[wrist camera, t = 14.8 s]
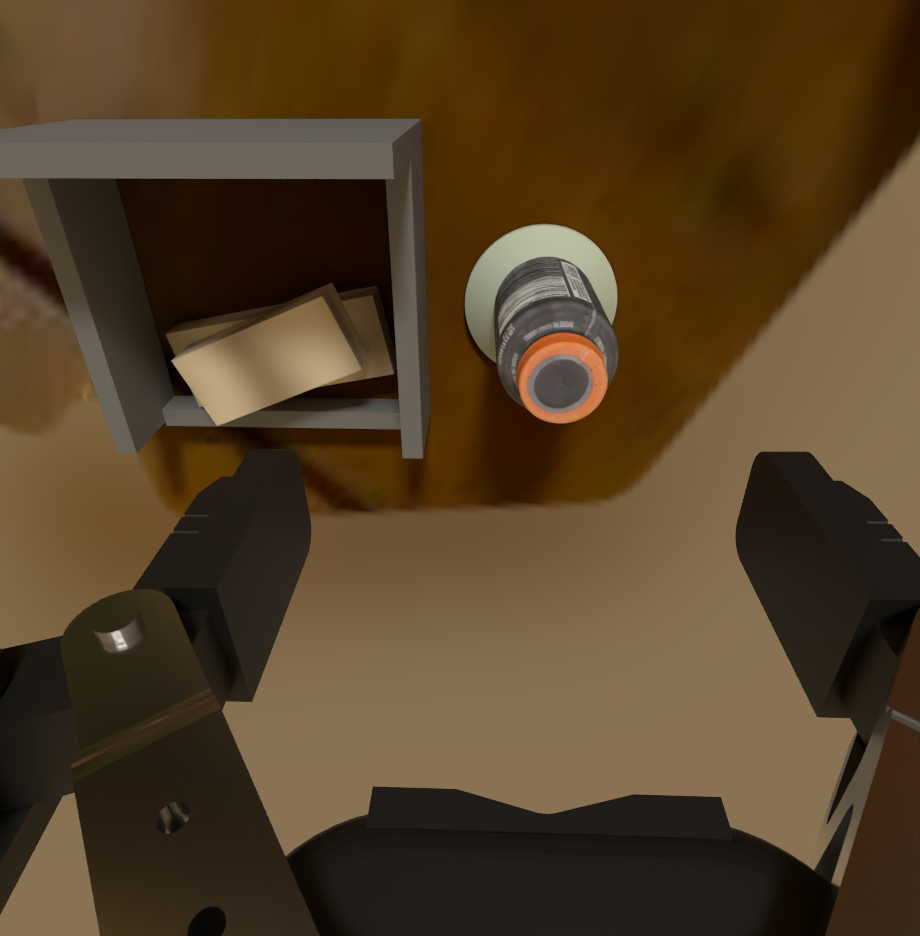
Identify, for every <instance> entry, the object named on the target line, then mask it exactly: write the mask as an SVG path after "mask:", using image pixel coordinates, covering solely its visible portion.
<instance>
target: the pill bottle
mask: <svg viewBox="0 0 920 936" xmlns="http://www.w3.org/2000/svg"><path fill="white" fill-rule="evenodd" d="M494 328H495V348H496V365H497V371H498V375H499V379H500V381H501V383H502V385H503V387H504V389H505V390H506V392H507V393H508V394H509V395H510V397H511V398H512V399H513V400H515V401H516V402H517V403H518V404H520V405H521V406H523V407H524V408H526V409H528V410H529V411H530V412H531V413H532V414H533V415H534V416H536V417H537V418H539V419H541V420H544V421H547V422H551V423H557V424H559V423H570V422H574V421H577V420H579V419H581V418H584V417H586V416H587V415H589V414H590V413H591V412H592V411H593V410H595V409H596V408H597V406H598V405H599V404H600V402H601V401H602V399H603V397H604V395H605V392H606V390H607V387H608V386H609V384H610V382H611V381H612V379H613V377H614V374H615V371H616V368H617V363H618V356H619V350H618V342H617V338H616V335H615V332H614V330H613V328H612V325H611V323H610V321H609V319H608V317H607V315H606V313H605V311H604V309H603V307H602V305H601V303H600V301H599V299H598V297H597V295H596V293H595V291H594V289H593V287H592V285H591V283H590V281H589V279H588V278H587V276H586V275H585V274H584V273H583V272H582V271H581V270H580V269H579V268H578V267H577V266H576V265H574V264H573V263H571V262H569V261H567V260H565V259H561V258H557V257H537V258H534V259H531V260H528V261H526V262H524V263H522V264H520V265H518V266H517V267H515V268H514V269H513V270H512V271H511V272H510V273H509V274H508V275H507V276H506V277H505V279H504V280H503V282H502V283H501V285H500V287H499V289H498V292H497V295H496V298H495V307H494Z"/></svg>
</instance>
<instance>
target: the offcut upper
mask: <svg viewBox="0 0 920 936" xmlns="http://www.w3.org/2000/svg"><path fill="white" fill-rule="evenodd" d="M368 354H369V352H368V350H367V348H366V346H365V345H364V343H363V341H362V339H361V337H360V335H359V333H358V331H357V329H356V327H355V325H354V324H353V322H352V320H351V318H350V316H349V314H348V312H347V310H346V308H345V306H344V304H343V303H342V301H341V299H340V297H339V295H338V293H337V291H336V289H335V287H334V285H333V284H332V283H329V284H327V285H325V286H323V287H320V288H318V289H316V290H313V291H311V292H309V293H306V294H304V295H302V296H299V297H297V298H295V299H293V300H290V301H288V302H286V303H283V304H281V305H279V306H276V307H274V308H272V309H270V310H267V311H265V312H263V313H260V314H258V315H256V316H253V317H251V318H249V319H246V320H244V321H242V322H240V323H237V324H235V325H233V326H230V327H228V328H226V329H223V330H221V331H219V332H216V333H214V334H212V335H210V336H207V337H205V338H203V339H200V340H198V341H196V342H193V343H191V344H189V345H188V346H187V347H185V348H184V349H183V350H182V351H181V352H180V353H179V354H178V355H177V356H176V357H175V358H174V359H173V360H172V363H173V364H174V366H175V367H176V368H177V370H178V371H179V373H180V374H181V376H182V377H183V378H184V380H185V381H186V383H187V384H188V385H189V387H190V388H191V390H192V391H193V393H194V394H195V395H196V397H197V398H198V400H199V401H200V403H201V404H202V405H203V407H204V408H205V410H206V411H207V412H208V414H209V415H210V417H211V418H212V420H213V421H214V422H215V424H216V425H217V426H219V425H221V424H224V423H227V422H229V421H232V420H234V419H237V418H239V417H242V416H244V415H247V414H250V413H252V412H255V411H257V410H260V409H262V408H265V407H267V406H270V405H273V404H275V403H278V402H280V401H283V400H285V399H288V398H290V397H293V396H296V395H298V394H301V393H303V392H306V391H308V390H311V389H314V388H316V387H319V386H321V385H324V384H326V383H329V382H331V381H334V380H337V379H339V378H342V377H344V376H347V375H349V374H352V373H354V372H357V371H360V370H362V368H363V366H364V363H365V361H366V358H367V356H368Z"/></svg>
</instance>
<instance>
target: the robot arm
mask: <svg viewBox="0 0 920 936" xmlns="http://www.w3.org/2000/svg"><path fill="white" fill-rule="evenodd" d="M887 521H888V520H887V519H886V517H885V516H884V515H883V514H882V513H881V512H880V510H879V509H878V508H877V507H876V506H875V505H874V504H873V502H872V501H871V500H870V499H869V498H867V497H866V496H864V495H863V494H861V493H860V492H858V491H856V490H855V489H853V488H852V487H850V486H849V485H847V484H846V483H844V482H842V481H833V480H832V478H831V477H830V476H829V475H828V473H827V472H826V471H825V470H824V469H823V467H822V466H821V465H820V463H819V462H818V461H817V460H816V459H815V457H814V456H813V455H812V454H811V453H809V452H760V453H759V454H758V455H757V456H756V458H755V460H754V462H753V465H752V469H751V472H750V476H749V480H748V483H747V488H746V491H745V495H744V499H743V503H742V506H741V510H740V514H739V517H738V521H737V526H736V547H737V553H738V556H739V559H740V561H741V563H742V565H743V567H744V569H745V571H746V573H747V575H748V577H749V579H750V581H751V584H752V585H753V588H754V589H755V592H756V594H757V596H758V598H759V600H760V602H761V604H762V606H763V608H764V610H765V612H766V614H767V616H768V618H769V620H770V622H771V624H772V626H773V628H774V630H775V632H776V634H777V636H778V638H779V640H780V642H781V644H782V647H783V649H784V651H785V652H786V655H787V656H788V659H789V661H790V662H791V665H792V667H793V669H794V671H795V673H796V675H797V677H798V679H799V681H800V683H801V685H802V687H803V689H804V691H805V693H806V695H807V697H808V699H809V701H810V703H811V705H812V707H813V709H814V712H815V714H816V716H817V717H828V718H831V717H832V718H851V720H852V722H853V724H854V726H855V728H856V730H857V731H856V733H855V735H854V737H853V739H852V741H851V743H850V745H849V748H848V751H847V754H846V757H845V759H844V762H843V765H842V768H841V771H840V774H839V777H838V779H837V782H836V785H835V788H834V791H833V794H832V797H831V799H830V802H829V805H828V808H827V811H826V814H825V817H824V820H823V822H822V825H821V828H820V831H819V834H818V837H817V839H816V842H815V844H814V847H813V849H812V852H811V854H810V856H809V859H808V861H807V863H806V864H804V863H803V862H801V861H800V860H798V859H797V858H795V857H794V856H792V855H791V854H789V853H787V852H786V851H784V850H782V849H780V848H778V847H776V846H775V845H773V844H771V843H769V842H767V841H765V840H763V839H760V838H758V837H756V836H753V835H751V834H748V833H745V832H743V831H741V830H738V829H734V828H731V827H730V825H729V822H728V819H727V816H726V812H725V809H724V806H723V803H722V799H721V797H699V796H664V795H630V796H625V797H621V798H617V799H613V800H609V801H605V802H600V803H596V804H592V805H588V806H584V807H579V808H575V809H571V810H567V811H563V812H558V813H554V814H541V813H536V812H532V811H529V810H525V809H522V808H519V807H515V806H512V805H508V804H505V803H502V802H498V801H495V800H492V799H488V798H485V797H481V796H478V795H475V794H471V793H468V792H464V791H461V790H458V789H433V788H400V787H373V789H372V795H371V801H370V807H369V813H368V815H364V816H360V817H356V818H353V819H351V820H348V821H345V822H343V823H340V824H337V825H335V826H333V827H331V828H329V829H327V830H325V831H323V832H321V833H319V834H317V835H315V836H313V837H312V838H311V839H309V840H308V841H306V842H304V843H303V844H301V845H300V846H298V847H297V848H295V849H294V850H293V851H292V852H290V853H289V854H288V855H287V856H286V857H285V854H284V852H283V850H282V848H281V845H280V843H279V841H278V838H277V836H276V834H275V831H274V829H273V827H272V824H271V822H270V820H269V817H268V815H267V813H266V810H265V808H264V806H263V804H262V801H261V799H260V797H259V794H258V792H257V790H256V788H255V785H254V783H253V781H252V778H251V776H250V774H249V771H248V769H247V767H246V765H245V762H244V760H243V758H242V755H241V753H240V751H239V748H238V746H237V744H236V741H235V739H234V737H233V734H232V732H231V730H230V728H229V725H228V723H227V721H226V719H225V716H224V714H223V712H222V709H223V707H224V705H225V702H226V701H241V702H243V701H244V702H252V700H253V698H254V695H255V692H256V690H257V687H258V684H259V682H260V679H261V677H262V674H263V671H264V668H265V666H266V663H267V661H268V658H269V655H270V653H271V650H272V648H273V645H274V642H275V639H276V637H277V634H278V632H279V629H280V626H281V624H282V621H283V618H284V616H285V613H286V610H287V608H288V605H289V602H290V600H291V597H292V595H293V592H294V589H295V587H296V584H297V581H298V579H299V576H300V574H301V571H302V568H303V566H304V563H305V560H306V558H307V555H308V552H309V548H310V542H311V520H310V514H309V509H308V504H307V499H306V493H305V488H304V483H303V478H302V473H301V467H300V462H299V458H298V455H297V453H296V452H295V451H294V450H290V449H252V450H250V451H249V452H248V453H247V455H246V456H245V458H244V459H243V461H242V463H241V464H240V466H239V467H238V469H237V470H236V472H235V474H234V475H233V477H220V478H219V479H217V480H216V481H215V482H213V483H212V484H211V485H209V486H208V487H206V488H205V489H204V490H202V491H201V492H200V493H198V494H197V496H196V497H195V499H194V500H193V502H192V503H191V505H190V506H189V507H188V509H187V510H186V512H185V517H182V518H181V519H180V521H179V522H178V524H177V525H176V526H175V528H174V533H173V534H170V535H169V537H168V538H167V540H166V541H165V542H164V544H163V545H162V547H161V548H160V550H159V551H158V553H157V554H156V556H155V557H154V559H153V560H152V561H151V563H150V565H149V566H148V567H147V569H146V570H145V572H144V573H143V575H142V576H141V577H140V579H139V580H138V582H137V584H136V585H135V586H134V588H133V589H132V590H128V591H123V592H119V593H116V594H113V595H110V596H108V597H106V598H103V599H101V600H99V601H97V602H96V603H94V604H92V605H91V606H89V607H87V608H86V609H85V610H83V611H82V612H81V613H80V614H78V615H77V616H76V617H75V618H74V620H72V622H71V623H70V624H69V625H68V627H67V628H66V630H65V632H64V634H63V636H59V637H55V638H50V639H46V640H42V641H37V642H33V643H28V644H23V645H19V646H15V647H10V648H5V649H0V914H1V912H2V910H3V908H4V907H5V905H6V903H7V901H8V899H9V897H10V895H11V893H12V891H13V889H14V888H15V886H16V884H17V882H18V880H19V878H20V876H21V874H22V872H23V870H24V869H25V867H26V864H27V863H28V861H29V859H30V857H31V855H32V853H33V851H34V849H35V848H36V846H37V844H38V842H39V840H40V838H41V836H42V834H43V832H44V831H45V829H46V827H47V825H48V823H49V821H50V819H51V817H52V815H53V813H54V812H55V809H56V807H57V806H58V804H59V802H60V800H61V798H62V796H64V795H67V794H71V793H75V798H76V804H77V809H78V815H79V821H80V826H81V831H82V838H83V843H84V849H85V854H86V860H87V866H88V871H89V877H90V882H91V888H92V894H93V899H94V904H95V911H96V916H97V922H98V927H99V933H100V936H920V557H919V556H918V555H917V554H916V552H915V551H914V550H913V549H912V548H911V547H910V545H909V544H908V543H907V542H903V541H902V538H903V537H902V536H901V535H900V534H899V533H898V531H897V530H896V529H895V528H894V527H893V526H892V524H888V523H887Z"/></svg>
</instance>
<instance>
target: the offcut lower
mask: <svg viewBox="0 0 920 936" xmlns="http://www.w3.org/2000/svg"><path fill="white" fill-rule="evenodd" d="M338 295H339V297H340V299H341V301H342V303H343V304H344V306H345V308H346V310H347V312H348V314H349V316H350V318H351V320H352V322H353V324H354V325H355V327H356V329H357V331H358V333H359V335H360V337H361V339H362V341H363V343H364V345H365V346H366V348H367V350H368V352H369V354H368V356H367V358H366V361H365V363H364V366H363V368H362V370H360V371H357V372H354V373H352V374H349V375H347V376H344V377H342V378H339V379H337V380H334V381H331V382H329V383H326V384H324V385H321V386H327V385H333V384H339V383H344V382H350V381H356V380H362V379H368V378H374V377H380V376H386V375H392V374H394V372H395V369H396V366H397V358H396V354H395V350H394V346H393V342H392V339H391V335H390V331H389V328H388V324H387V320H386V316H385V313H384V309H383V305H382V301H381V298H380V294H379V290H378V286H372V287H367V288H362V289H356V290H351V291H346V292H341V293H338ZM279 305H281V304H278V305H272V306H267V307H262V308H257V309H251V310H246V311H241V312H236V313H230V314H225V315H220V316H215V317H209V318H204V319H199V320H193V321H188V322H183V323H178V324H177V325H176V326H175V327H173V328H172V329H171V330H170V331H169V332H167V333H166V337H167V339H168V341H169V343H170V345H171V347H172V350H173V352H174V354H175V356H177V355H178V354H179V353H180V352H181V351H182V350H183V349H184V348H185V347H187V346H188V345H189V344H191V343H193V342H196V341H198V340H200V339H203V338H205V337H207V336H210V335H212V334H214V333H216V332H219V331H221V330H223V329H226V328H228V327H230V326H233V325H235V324H237V323H240V322H242V321H244V320H246V319H249V318H251V317H253V316H256V315H258V314H260V313H263V312H265V311H267V310H270V309H272V308H274V307H276V306H279ZM321 386H319V387H321ZM192 393H193V391H192ZM193 395H194V397H195V399H196V401H197V403H198V405H199V407H203V405H202V404H201V403H200V401H199V400H198V398H197V397H196V395H195V394H194V393H193Z"/></svg>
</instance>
